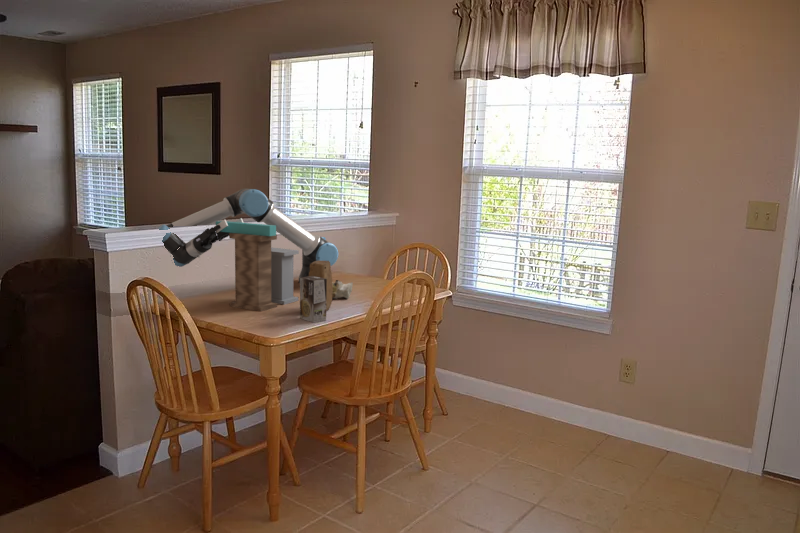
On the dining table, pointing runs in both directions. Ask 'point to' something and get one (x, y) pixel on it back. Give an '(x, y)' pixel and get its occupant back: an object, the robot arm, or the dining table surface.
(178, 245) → the robot arm
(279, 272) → the low stand
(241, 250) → the tall stand
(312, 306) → the coffee box
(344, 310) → the dining table surface
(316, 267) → the brown bread chunk
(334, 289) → the ceramic sculpture
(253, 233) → the bar
